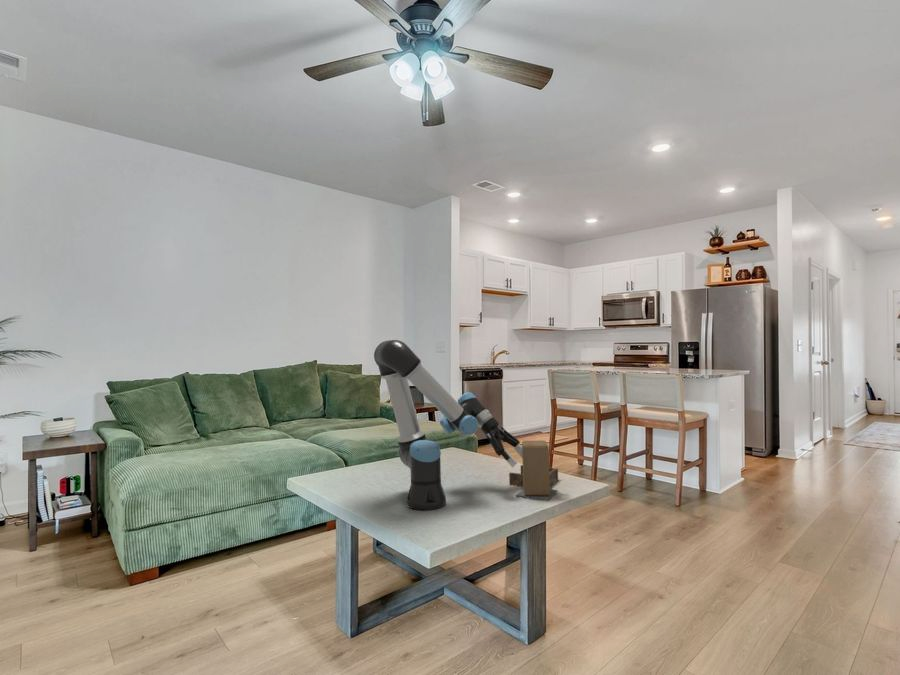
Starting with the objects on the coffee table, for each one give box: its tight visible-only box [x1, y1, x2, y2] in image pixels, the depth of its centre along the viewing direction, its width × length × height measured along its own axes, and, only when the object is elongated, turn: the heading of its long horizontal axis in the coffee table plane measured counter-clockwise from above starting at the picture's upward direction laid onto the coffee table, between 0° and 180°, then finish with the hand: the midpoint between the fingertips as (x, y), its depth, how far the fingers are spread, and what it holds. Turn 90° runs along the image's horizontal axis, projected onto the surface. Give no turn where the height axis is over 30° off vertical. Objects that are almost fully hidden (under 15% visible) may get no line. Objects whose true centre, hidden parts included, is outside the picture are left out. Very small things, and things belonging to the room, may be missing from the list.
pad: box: [515, 488, 558, 502], centre depth 191 cm, size 13×13×1 cm
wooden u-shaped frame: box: [508, 464, 559, 487], centre depth 208 cm, size 17×15×5 cm
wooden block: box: [521, 440, 551, 496], centre depth 191 cm, size 10×10×20 cm
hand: (521, 461), depth 194 cm, fingers open, 13 cm apart
